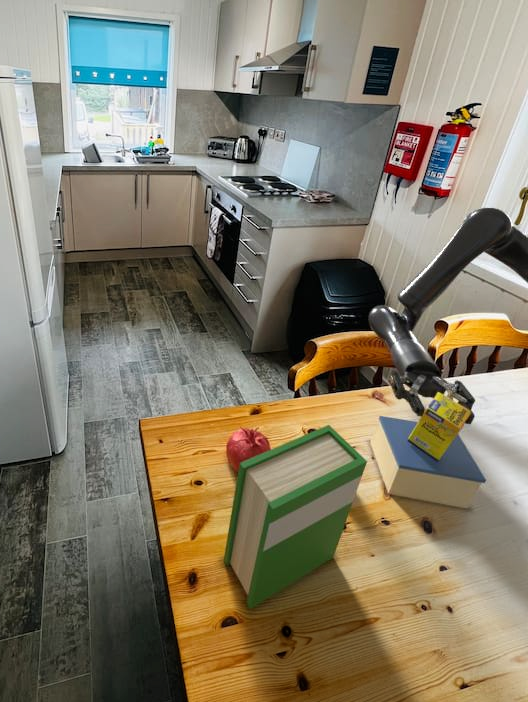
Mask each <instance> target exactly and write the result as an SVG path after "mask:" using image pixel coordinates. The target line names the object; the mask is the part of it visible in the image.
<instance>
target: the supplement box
mask: <svg viewBox="0 0 528 702" xmlns="http://www.w3.org/2000/svg"><path fill="white" fill-rule="evenodd" d="M453 400H454V399H453ZM453 400H451V399H450V398H448V397H447V395H445V394H444V395H443V394H441V393H440V392H437V394H436V396H435V397H434V398H432V400H431V401H430V403H429V404H428V405H427V406H426V408H425V411H424V413H423V415H422V416H420V418H419V420H418V421H417V422H418V423H417V425H416V427H415V428H414V430H413V431H412V433H411V435H410V436H409V438H408V440H407V441H408V442H409V443H411V444H412V445H414V446H415V447H416V448H418V449H419V450H421V451H422V452H424V453H425V454H426V455H428V456H429V457H431V458H432V459H434V460H435V461H437V462H438V461H439V460H440V458H441V457H442V455H443V454H444V452H445V451H446V450H447V448H448V447H449V445H450V444H451V442H452V441H453V440H454V438H455V437H456V436H457V434H458V435H459V433H460V431H461V430H462V429H463V427H464V426H465V425H466V424H465V422H466V421H467V419H468V417H469V416H470V414H471V411H470V410H468V409H467V408H465V407H463V406H461V405H460V404H458V402H456V401H455V400H454V401H453Z"/></svg>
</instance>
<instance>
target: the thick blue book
mask: <svg viewBox="0 0 528 702" xmlns="http://www.w3.org/2000/svg"><path fill="white" fill-rule="evenodd" d="M370 446H371V449H372V452H373V454H374V457H375V461H376V463H377V466H378V468H379V472H380V475H381V477H382V480H383V483H384V486H385V489H386V491H387V494H388V495H392V496H398V497H404V498H408V499H413V500H414V499H415V500H420V501H425V502H431V503H434V504H435V503H436V504H441V505H446V506H450V507H451V506H452V507H457V508H461V509H467V510H468V509H469V507H470V505H471V503H472V502H473V499H474V498H475V496H476V494H477V492H478V490H479V488H480V486H481V484H482V483H481V482H475V481H469V480H464V479H458V478H453V477H447V476H441V475H436V474H430V473H424V472H419V471H413V470H408V469H402V468H398V465H397V463H396V460H395V458H394V455H393V453H392V450H391V448H390V445H389V443H388V440H387V438H386V435H385V433H384V430H383V428H382V425H381V423H380V420H379V418H378V420H377V422H376V426H375V428H374V431H373V433H372V437H371V440H370Z"/></svg>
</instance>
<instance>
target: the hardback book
mask: <svg viewBox="0 0 528 702" xmlns="http://www.w3.org/2000/svg"><path fill="white" fill-rule="evenodd" d="M367 463H368V461H367V459H365V458H364V457H363V455H361V454H360V453H359V452H358V451H357V449H355V448H354V447H353V446H352V445H351V444H350V443H348V441H347V440H346V439H344V437H343V436H342V435H340V434H339V433H338V432H337V431H336V430H335V429H334V428H333V427H332V426H331V425H330V424H327V425H325V426H323V427H320V428H318V429H316V430H313V431H311V432H308V433H306V434H304V435H302V436H299V437H297V438H294V439H292V440H290V441H287V442H285V443H283V444H280V445H278V446H276V447H273V448H271V450H269V451H267V452H264V453H262V454H260V455H257V456H255V457H253V458H250V459H248V460H246V461H243V462H241V463H240V465H239V471H238V472H237V478H236V483H235V489H234V495H233V502H232V509H231V514H230V520H229V526H228V531H227V538H226V544H225V549H224V555H223V562H224V564H225V566H226V567H228V566H231V568H232V570H233V572H234V573H235V575H236V577H237V579H238V580H239V582H240V584H241V586H242V588H243V589H244V592H245V594H246V595H247V598H246V602H245V603H246V605H247V607H248V609H249V610H251V609H252V608H254V607H256V606H258V605H260V604H261V603H263V602H264V601H265V600H267V599H269V598H270V597H272V596H273V595H275V594H277V593H279V592H280V591H282V590H283V589H285V588H286V587H288V586H290V585H291V584H293V583H295V582H296V581H298V580H300V579H301V578H303V577H305V576H306V575H308V574H309V573H310V572H312V571H314V570H315V569H317V568H319V567H320V566H322V565H324V564H326V563H327V562H328V561H330V560H332V559H333V558H334V557H335V555H336V551H337V549H338V545H339V543H340V539H341V537H342V535H343V531H344V528H345V526H346V523H347V520H348V517H349V514H350V512H351V508H352V506H353V503H354V501H355V497H356V494H357V491H358V488H359V487H360V486H359V485H360V483H361V480H362V477H363V474H364V472H365V468H366V465H367Z"/></svg>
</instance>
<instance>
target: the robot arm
mask: <svg viewBox="0 0 528 702" xmlns="http://www.w3.org/2000/svg"><path fill="white" fill-rule="evenodd" d="M483 253H485V254H487V255H488V256H490V257H492V258H494V259H495V260H497V261H498V262H500V263H502V264H503V265H505V266H506V267H508V268H510V270H512V271H513V272H514V273H516V274H517V275H518V276H519V277H520V278H521V279H522V280H523V281H524V282H525V283H527V284H528V236H527V235H526V234H525V233H523V232H522V231H521V230H519V229H518V228H517V227H516V226H515V225H513V223H512V220H511V217H510V216H509V215H508V214H507V213H506V212H505V211H503V210H501V209H499V208H496V207H489V206H488V207H481V208H478V209H475V210H473V211H471V212H470V213H469V214H468V215H467V216H466V217H465V218H464V220H463V221H462V223H461V224H460V226H459V227H458V229H457V230H456V232H455V233H454V234H453V236H451V238H450V240H449V241H448V242H447V243H446V245H445V246H444V247H443V248H442V250H440V252H439V253H438V254H437V255H436V256H435V257H434V258H433V259H432V260H431V261H430V262H429V263H428V264H427V265H426V266H425V267H424V268H422V270H421V271H420V272H419V273H418V274H416V275H415V277H414V278H413V279H411V280H410V282H409V283H407V284H406V286H405V287H404V288H402V290H401V291H400V292H399V293H398V294H397V300H398V302H399V303H400V304H401V305H402V306H403V307H404V308H403V311H402V313H400V312H398V311H396V310H395V309H394V308H392V307H390V306H389V305H383V304H382V305H381V304H380V305H377V306H374V307H373V308H372V309H371V310H370V312H369V313H368V319H367V320H368V324H369V326H370V328H371V330H372V331H373V332H374V334H375V335H376V336H377V337H378V339H380V340H381V342H383V345H385V347H386V350H387V351H388V353H389V355H390V358H391V361H392V363H393V364H394V367H395V368H396V370H397V371H396V370H392V371H391V374H390V377H389V380H388V382H389V384H390V387H391V389H392V392H393V395H394V397H395V399H397V400H402V399H403V400H405V402H406V403H408V405H409V407H410V408H411V411H412V412H413V413H414V414H416V417H421V416H422V415H423V413H424V411H425V410H426V408H425V406H424V404H423V402H422V400H421V399H420V397H419V396H421V397H422V398H431V399H434V397H435V396H436V394H437V392H440V393H441V394H443V395H445V393H447V395H446V396H447V397H448V398H450V399H451V400H453V401H455V400H456V401H457V403H458V404H460V405H461V406H463V407H465V408H467V409H468V410H470V411H471V414H470V416H469V417H468V419H467V421H466V422H465V424H464V425H472V423H473V421H474V419H475V417H476V415H475V413H474V412H473V410H472V409H473V406H474V404H475V403H476V399H475V397H474V396H473V395H472V394H471V392H470V391H469V389H467V387H466V386H465V385H464V383H463V382H462V381H461V380H458V379H457V380H455V381H454V382H448V381H447V380H446V379H445V378H443V377H442V374H441V370H440V368H439V367H438V365H437V363H436V362H435V361H434V359H433V358H432V356H431V355H430V353H429V352H428V350H427V349H426V348H425V347H424V346H423V344H422V343H421V342H420V340H419V339H418V337H417V336H416V335H415V334H414V330H415V328H416V326H417V325H418V323H419V321H420V319H421V318H422V316H423V315H424V313H425V312H426V310H428V309H429V307H430V306H432V305H433V304H434V303H435V302H436V301H437V300H438V299H439V298H440V297H441V296H442V295H443V294H444V293H445V291H446V290H447V289H448V288H449V287H451V285H452V283H453V282H454V281H455V280H456V279H457V278H458V276H459V275H460V274H461V273H462V272H463V270H464V269H465V268H466V267H467V266H469V265H470V264H471V263H472V262H473V261H474V260H476V258H478V257H479V256H481V255H482V254H483ZM404 385H405V386H406V387H407V388H409V390H407V389H406V387H405V386H404ZM454 399H455V400H454Z"/></svg>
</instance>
